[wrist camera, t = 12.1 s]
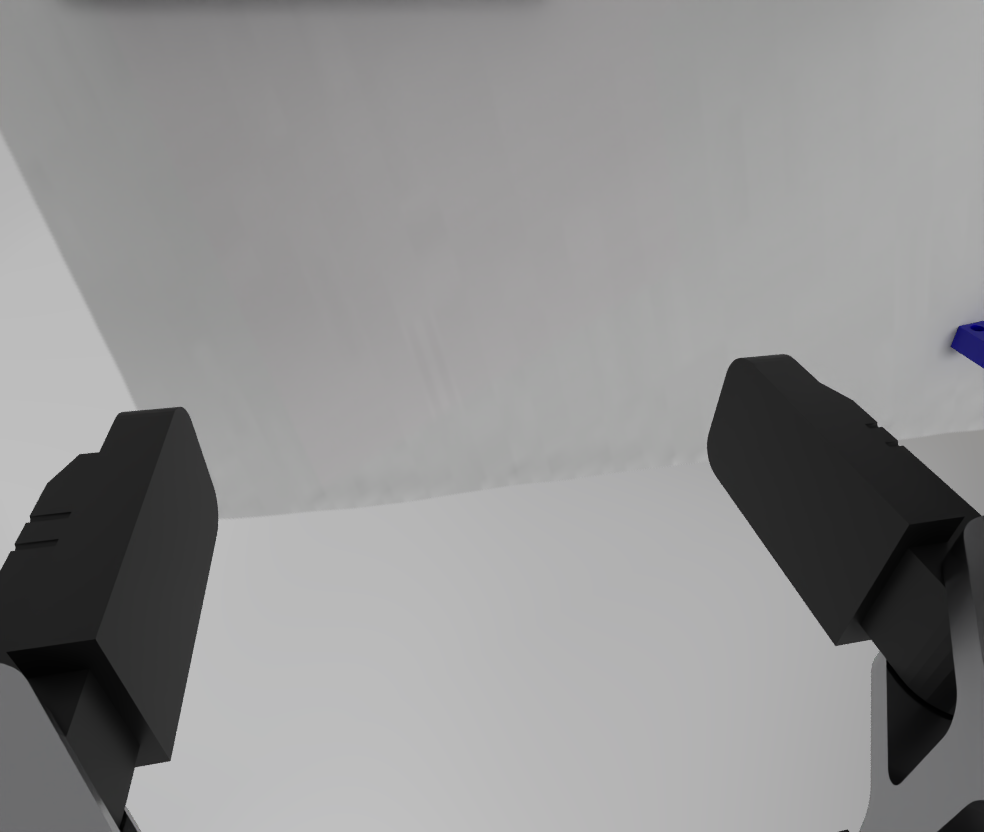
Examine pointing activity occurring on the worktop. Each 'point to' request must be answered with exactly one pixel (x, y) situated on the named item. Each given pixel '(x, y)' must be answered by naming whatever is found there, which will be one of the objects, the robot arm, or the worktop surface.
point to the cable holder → (970, 342)
